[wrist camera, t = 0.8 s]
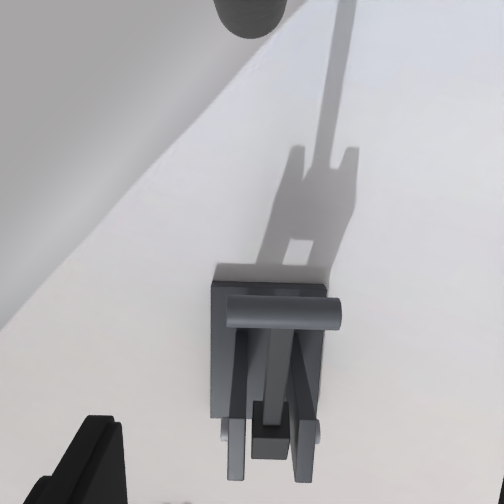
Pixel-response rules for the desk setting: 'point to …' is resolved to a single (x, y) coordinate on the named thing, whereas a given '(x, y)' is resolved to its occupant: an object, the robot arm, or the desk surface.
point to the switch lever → (278, 357)
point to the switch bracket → (263, 376)
